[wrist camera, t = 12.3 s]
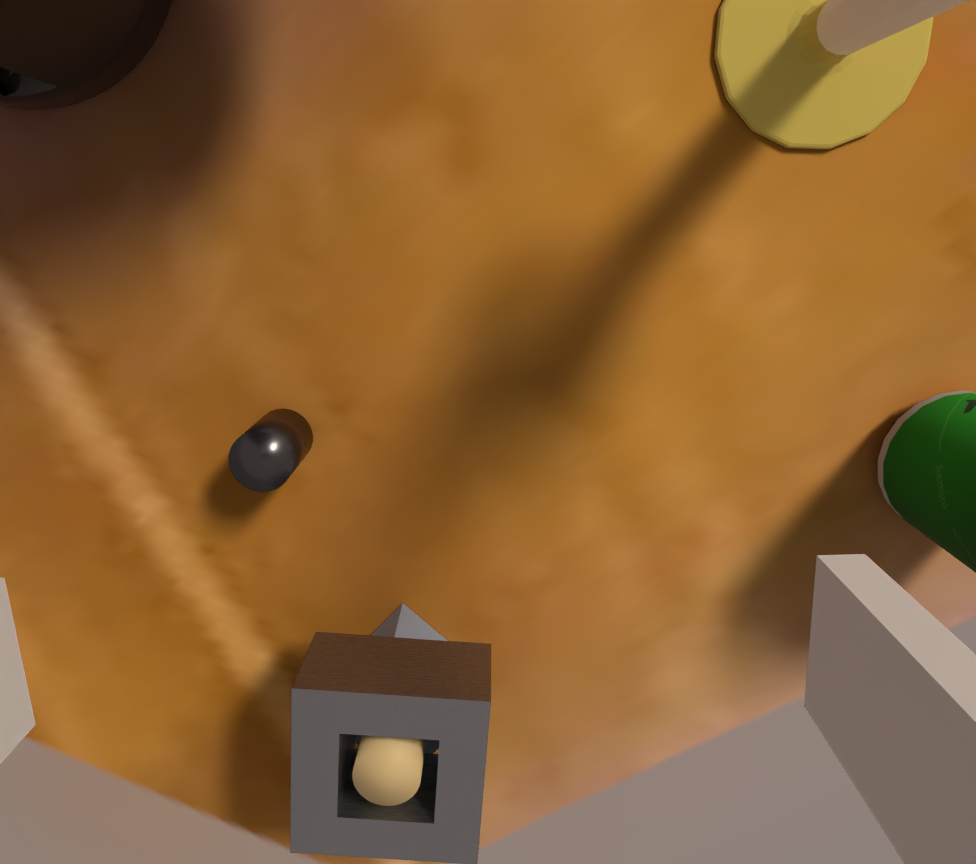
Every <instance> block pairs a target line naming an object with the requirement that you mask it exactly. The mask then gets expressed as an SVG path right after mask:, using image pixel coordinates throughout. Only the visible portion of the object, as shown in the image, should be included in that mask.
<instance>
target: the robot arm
mask: <svg viewBox="0 0 976 864" xmlns="http://www.w3.org/2000/svg"><path fill="white" fill-rule="evenodd" d="M170 3H171V0H0V105H3V106H8V107H14V108H22V109H48V108H56V107H62V106H66V105H71V104H74V103H77V102H81V101H83V100H86V99H88V98H91V97H93V96H95V95H97V94H99V93H101V92H103V91H104V90H106V89H108V88H109V87H111V86H112V85H114V84H115V83H117V82H118V81H119V80H121V79H122V78H123V77H124V76H125V75H126V74H127V73H129V72H130V71H131V70H132V69H133V68H134V67H135V66H136V64H137V63H138V62H139V61H140V60H141V59H142V57H143V56H144V55H145V54H146V52H147V51H148V49H149V48H150V46H151V45H152V43H153V42H154V40H155V38H156V36H157V35H158V33H159V31H160V29H161V27H162V24H163V22H164V20H165V17H166V15H167V12H168V9H169V6H170ZM804 706H805V708H806V709H807V711H808V712H809V714H810V716H811V717H812V719H813V720H814V721H815V723H816V725H817V726H818V728H819V730H820V731H821V733H822V734H823V736H824V738H825V739H826V741H827V742H828V744H829V746H830V747H831V749H832V750H833V752H834V753H835V755H836V757H837V758H838V759H839V761H840V763H841V764H842V766H843V768H844V769H845V770H846V772H847V774H848V775H849V777H850V779H851V780H852V782H853V783H854V785H855V787H856V788H857V790H858V791H859V793H860V794H861V796H862V798H863V799H864V801H865V802H866V804H867V805H868V807H869V809H870V810H871V812H872V813H873V815H874V816H875V818H876V820H877V821H878V823H879V824H880V826H881V827H882V829H883V831H884V832H885V834H886V835H887V837H888V838H889V840H890V842H891V843H892V845H893V846H894V848H895V850H896V851H897V853H898V854H899V856H900V857H901V859H902V860H903V862H904V864H976V655H975V654H974V653H973V652H972V651H971V650H970V649H969V648H968V647H967V646H966V645H964V644H963V643H962V642H961V641H960V640H959V639H958V638H957V637H956V636H955V635H953V634H952V633H951V632H950V631H949V630H948V629H947V628H946V627H945V626H944V625H942V624H941V623H940V622H939V621H938V620H937V619H936V618H935V617H934V616H933V615H931V614H930V613H929V612H928V611H927V610H926V609H925V608H924V607H923V606H922V605H920V604H919V603H918V602H917V601H916V600H915V599H914V598H913V597H912V596H911V595H910V594H908V593H907V592H906V591H905V590H904V589H903V588H902V587H901V586H900V585H899V584H897V583H896V582H895V581H894V580H893V579H892V578H891V577H890V576H889V575H888V574H886V573H885V572H884V571H883V570H882V569H881V568H880V567H879V566H878V565H877V564H875V563H874V562H873V561H872V560H871V559H870V558H869V557H868V556H867V555H866V554H846V555H817V559H816V571H815V583H814V595H813V607H812V619H811V631H810V643H809V655H808V667H807V679H806V691H805V704H804ZM35 725H36V724H35V720H34V715H33V710H32V706H31V701H30V696H29V691H28V687H27V682H26V677H25V673H24V668H23V663H22V659H21V654H20V649H19V644H18V640H17V635H16V630H15V626H14V621H13V616H12V611H11V607H10V602H9V597H8V593H7V588H6V583H5V578H0V764H1V763H2V761H3V760H4V759H5V758H6V757H7V756H8V755H9V754H10V753H11V751H12V750H13V749H14V748H15V747H16V746H17V745H18V744H19V743H20V741H21V740H22V739H23V738H24V737H25V736H26V735H27V734H28V733H29V731H30V730H31V729H32V728H33V727H34V726H35Z"/></svg>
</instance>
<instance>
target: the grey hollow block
mask: <svg viewBox="0 0 976 864" xmlns="http://www.w3.org/2000/svg"><path fill="white" fill-rule="evenodd" d="M490 705H491V644H485V643H470V642H456V641H441V640H426V639H412V638H397V637H382V636H368V635H353V634H338V633H324V632H315V635H314V637H313V639H312V642H311V644H310V646H309V649H308V651H307V653H306V656H305V658H304V660H303V663H302V665H301V667H300V670H299V672H298V674H297V677H296V679H295V681H294V684H293V686H292V697H291V831H290V852H291V853H306V854H322V855H337V856H353V857H368V858H383V859H399V860H414V861H430V862H445V863H461V864H477V861H478V849H479V837H480V825H481V813H482V801H483V789H484V777H485V765H486V753H487V741H488V729H489V717H490ZM355 735H367V736H382V737H397V738H412V739H427V740H439V754H428V753H424V760H423V768H422V775H421V782H420V786H419V788H418V790H417V792H416V793H415V795H414V796H413V797H412V798H410V799H409V800H407V801H406V802H404V803H401V804H398V805H393V806H383V805H378V804H375V803H372V802H370V801H368V800H366V799H365V798H364V797H363V796H361V795H360V794H359V792H358V791H357V790H356V788H355V786H354V783H353V778H352V773H353V768H354V764H355V760H356V756H357V752H358V749H355Z"/></svg>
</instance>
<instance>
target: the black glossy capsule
mask: <svg viewBox="0 0 976 864" xmlns="http://www.w3.org/2000/svg"><path fill="white" fill-rule="evenodd" d="M312 442H313V435H312V430H311V427H310V425H309V423H308V422H307V421H306V419H305V418H304V417H303V416H301V415H300V414H298V413H297V412H295V411H292V410H288V409H277V410H273V411H271V412H269V413H267V414H266V415H264V416H263V417H262V418H261V419H260V420H259V421H258V422H256V423H255V424H254V425H253V426H252V427H251V428H250V429H248V430H247V431H246V432H245V433H244V434H243V435H241V436H240V437H239V438H238V439H237V440H236V441H235V442H234V444H233V445H232V447H231V449H230V452H229V466H230V470H231V472H232V474H233V476H234V477H235V478H236V480H237V481H238V482H239V483H240V484H242V485H243V486H245V487H246V488H248V489H251V490H254V491H259V492H266V491H272V490H274V489H277V488H278V487H280V486H281V485H283V484H284V483H285V481H286V480H287V479H288V478H289V476H290V475H291V474H292V473H293V471H294V470H295V469H296V467H297V466H298V465H299V464H300V462H301V461H302V460H303V459H304V457H305V456H306V455H307V453H308V452H309V450H310V448H311V446H312Z"/></svg>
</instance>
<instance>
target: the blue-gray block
mask: <svg viewBox="0 0 976 864" xmlns="http://www.w3.org/2000/svg"><path fill="white" fill-rule="evenodd" d="M370 636H382V637H397V638H412V639H426V640H441V641H448V640H446V639H445V638H444V637H443V636H442V635H440V634H439V633H438V632H437V631H436V630H434V629H433V628H432V627H431V626H430V625H428V624H427V623H426V622H425V621H424V620H422V619H421V618H420V617H419V616H418V615H416V614H415V613H414V612H413V611H412V610H410V609H409V608H408V607H407V606H405V605H404V604H403V603H402V604H401V605H400V606H399V607H398V608H397V609H396V610H395V611H394V612H393V613H392V614H391V615H390V616H389V617H388V618H387V619H386V620H385V621H384V622H383V623H382V624H381V625H380V626H379V627H378V628H377V629H376V630H375V631H374V632H373V633H372V634H371V635H370ZM355 743H357V744H358V745H359V748H358V752H357V756H356V760H355V764H354V768H353V773H352V778H353V783H354V786H355V788H356V790H357V791H358V792H359V794H360V795H361V796H363V797H364V798H365V799H366V800H368V801H370V802H372V803H375V804H378V805H383V806H393V805H398V804H401V803H404V802H406V801H407V800H409V799H410V798H412V797H413V796H414V795H415V793H416V792H417V790H418V788H419V786H420V782H421V775H422V768H423V760H424V753H428V754H433V753H434V752H435V751H436V750H437V749H438V748H439V740H427V739H412V738H397V737H382V736H367V735H355Z"/></svg>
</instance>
